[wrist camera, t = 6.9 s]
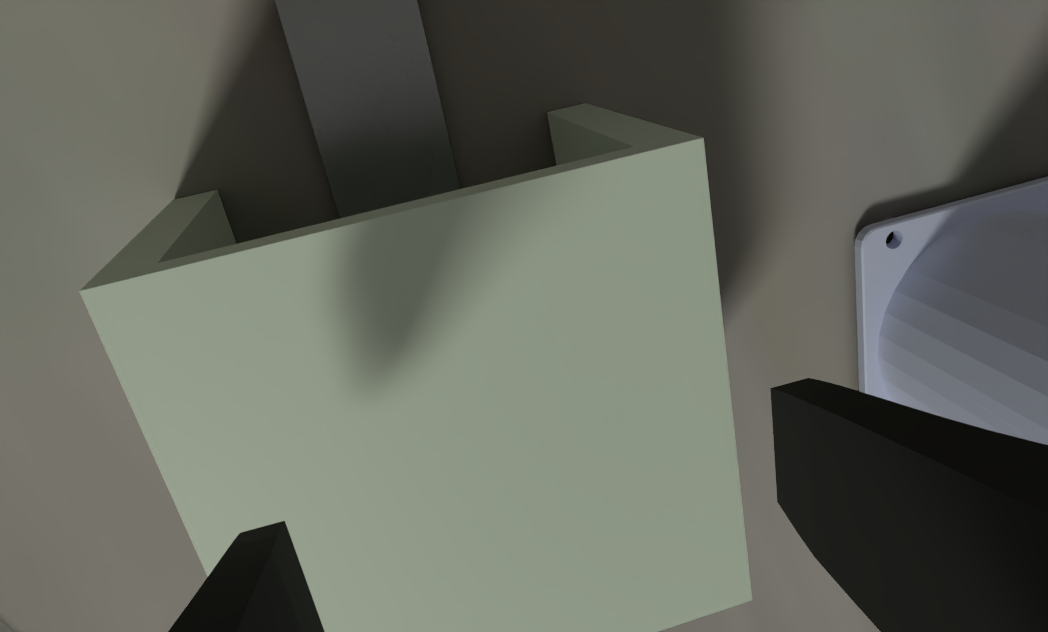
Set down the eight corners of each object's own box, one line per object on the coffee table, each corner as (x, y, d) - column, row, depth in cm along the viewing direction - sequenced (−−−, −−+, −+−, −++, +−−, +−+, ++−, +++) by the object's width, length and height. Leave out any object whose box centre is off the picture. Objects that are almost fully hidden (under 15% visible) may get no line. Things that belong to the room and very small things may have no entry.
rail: (173, -1045, 12) (171, -1062, 11) (539, 533, 23) (541, 537, 23) (-35, -1039, 11) (-41, -1057, 11) (443, 562, 23) (443, 567, 22)
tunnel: (585, 103, 19) (703, 137, 13) (640, 444, 23) (752, 600, 16) (173, 199, 18) (80, 291, 11) (304, 544, 21) (287, 754, 15)
